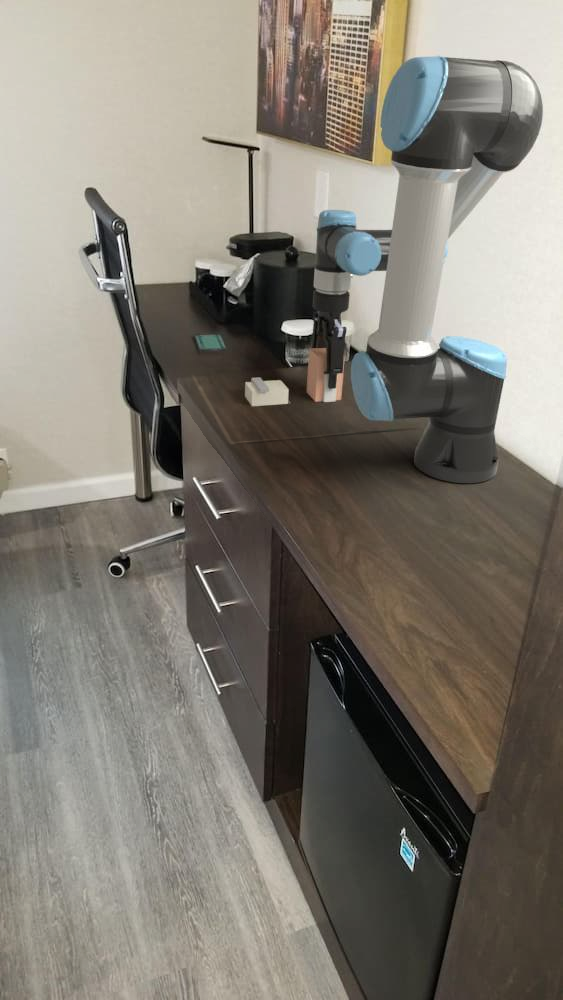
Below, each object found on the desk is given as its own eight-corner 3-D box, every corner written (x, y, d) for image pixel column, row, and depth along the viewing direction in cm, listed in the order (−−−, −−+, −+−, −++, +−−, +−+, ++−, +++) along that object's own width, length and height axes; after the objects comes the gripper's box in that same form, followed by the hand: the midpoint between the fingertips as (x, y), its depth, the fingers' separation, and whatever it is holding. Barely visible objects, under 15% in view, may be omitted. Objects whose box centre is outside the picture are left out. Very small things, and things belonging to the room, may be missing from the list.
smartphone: (199, 350, 192) (193, 333, 205) (199, 355, 193) (194, 338, 206) (228, 350, 194) (220, 333, 207) (228, 354, 194) (220, 337, 207)
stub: (341, 399, 165) (344, 355, 161) (315, 401, 164) (318, 357, 159) (331, 390, 170) (335, 347, 166) (306, 392, 169) (309, 348, 164)
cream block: (291, 407, 162) (292, 387, 160) (252, 410, 160) (253, 389, 158) (281, 396, 168) (282, 375, 166) (244, 398, 166) (244, 378, 164)
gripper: (366, 300, 149) (355, 410, 160) (332, 279, 165) (324, 380, 176) (331, 301, 147) (322, 412, 158) (300, 280, 163) (294, 382, 174)
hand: (323, 395), depth 167 cm, fingers closed on stub, 6 cm apart
